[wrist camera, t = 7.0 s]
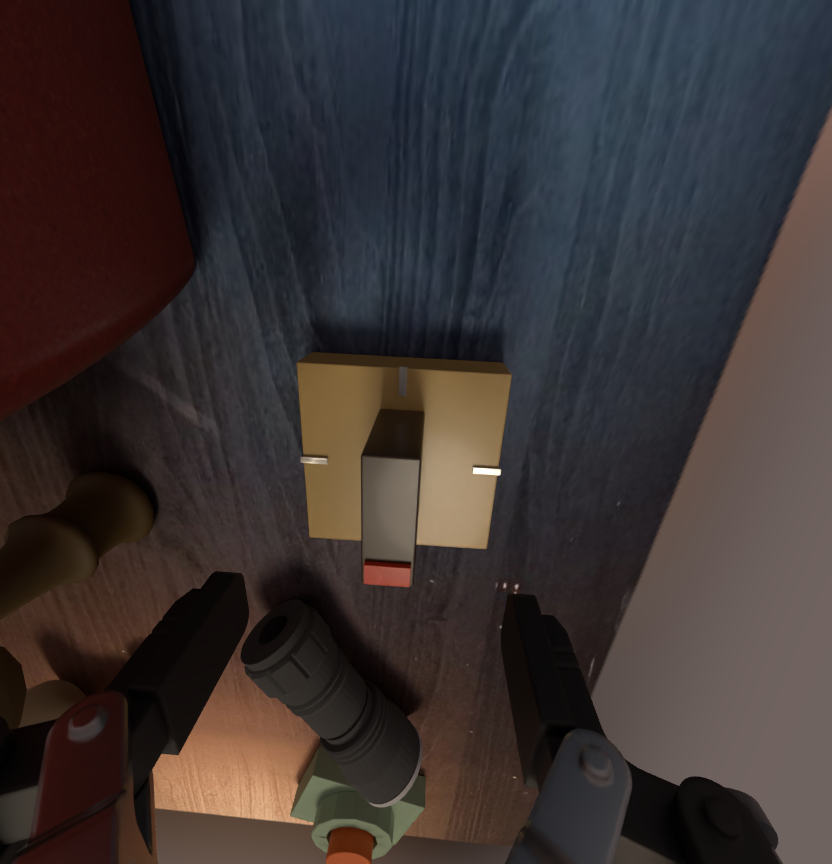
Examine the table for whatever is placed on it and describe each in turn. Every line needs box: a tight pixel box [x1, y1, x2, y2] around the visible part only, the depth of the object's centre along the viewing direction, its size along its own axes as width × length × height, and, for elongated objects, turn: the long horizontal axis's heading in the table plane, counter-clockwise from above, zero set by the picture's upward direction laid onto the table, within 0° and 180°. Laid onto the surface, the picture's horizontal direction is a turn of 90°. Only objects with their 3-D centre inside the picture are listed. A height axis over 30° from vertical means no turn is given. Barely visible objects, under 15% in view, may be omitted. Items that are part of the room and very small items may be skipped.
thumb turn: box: [361, 409, 425, 587], centre depth 17 cm, size 6×2×5 cm, turn 177°
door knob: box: [19, 680, 86, 728], centre depth 29 cm, size 10×8×8 cm
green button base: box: [290, 746, 426, 859], centre depth 33 cm, size 10×7×4 cm
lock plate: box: [297, 352, 512, 549], centre depth 21 cm, size 10×10×3 cm
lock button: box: [326, 827, 374, 864], centre depth 31 cm, size 4×4×2 cm
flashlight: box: [241, 599, 423, 808], centre depth 27 cm, size 15×5×5 cm, turn 29°
